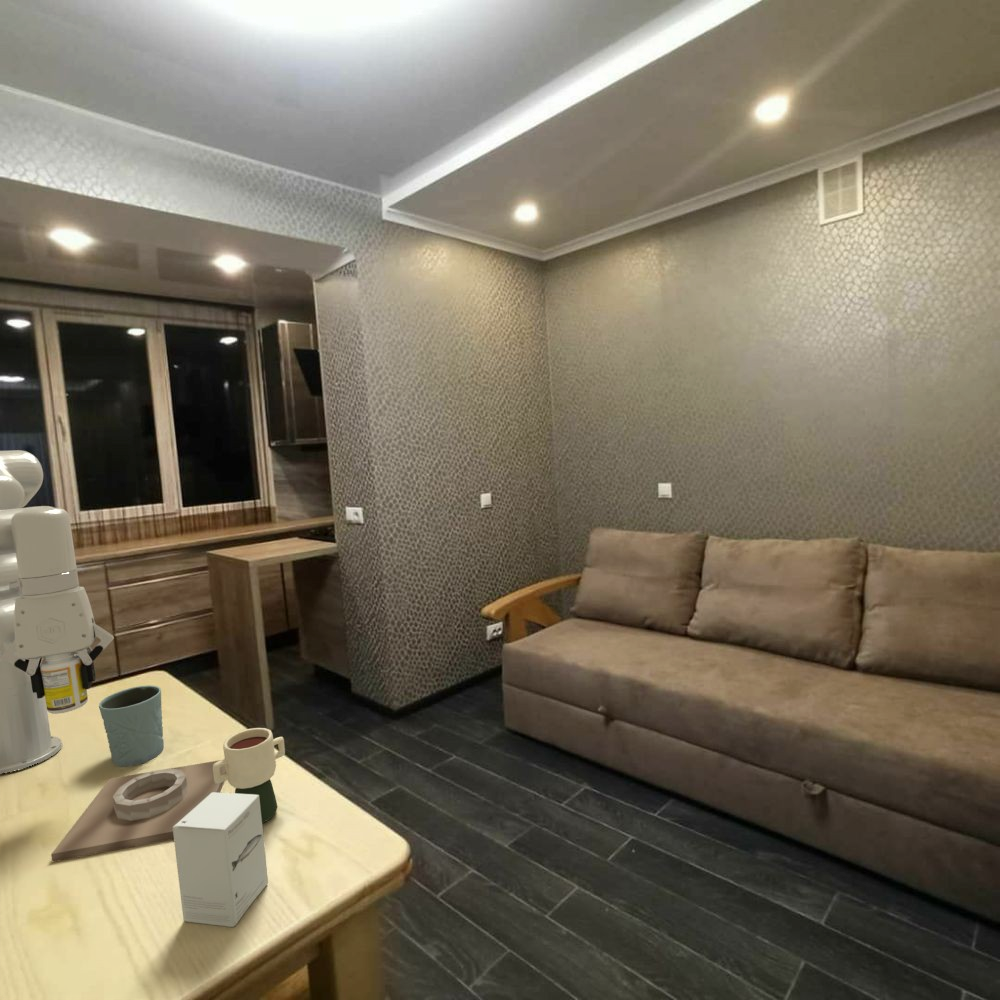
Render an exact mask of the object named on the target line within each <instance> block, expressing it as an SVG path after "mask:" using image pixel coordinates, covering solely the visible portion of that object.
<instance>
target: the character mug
mask: <svg viewBox="0 0 1000 1000" xmlns="http://www.w3.org/2000/svg"><path fill="white" fill-rule="evenodd" d="M276 745H277V746H278V751H277V752H276V751H275V746H276ZM285 748H286V747H285V739H284V737H283V736H279V737H275V738H274V735H273V732H272V730H271V729H268V728H266V727H254V728H247V729H244V730H241V731H240V730H239V731H238V732H236V733H233V734H232V735H230V736H229V737H228V738H226V739H225V741H224V742H223V756H224V759H220V760H221V761H219V760H217V761H218V762H216V763H215V764H214V765H213V775H214V782H215V783H216V784H218V783H222V782H224V781H225V782H226V781H227V782H228V784H229V785H230V786H231V787H233V788H234V793H237V794H254V795H259V799H260V808H261V818H262V824H263V823H264V822H265V823H266V822H267V821H269V820H270V819H271V818H272V817H273V816H274V815H275V814H276V812H277V810H278V806H279V805H278V804H277V803H278V802H277V799H276V794H275V790H274V787H273V783H272V780H271V778H273V776H274V775H275V772H276V769H277V768H276V767H277V764H276V763H277V761H276V760H277V759H279V758H283V756H285V754H286V749H285ZM223 766H225V767H226V774H224V775H222V776H221V774H220V768H221V767H223ZM225 782H224V783H225Z"/></svg>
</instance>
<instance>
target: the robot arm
mask: <svg viewBox="0 0 1000 1000" xmlns="http://www.w3.org/2000/svg"><path fill="white" fill-rule="evenodd" d="M42 467H43V466H42V463H41V462H40V461H39V459H38V458H37V457H36V456H35V455H34V454H32V453H30V452H28V451H26V450H21V449H20V450H19V449H17V450H15V449H14V450H0V775H3V774H2V773H5V774H7V773H6V772H10V773H12V772H11V771H14V770H18V769H22V768H25V769H27V768H26V767H28V768H30V767H29V766H31V767H33V766H35V765H34V764H36V765H38V764H40V763H42V762H44V760H45V761H47V760H48V759H50V758H51V756H52V757H53V756H55V755H56V754H57V753H58V752H59V751H60V750H61V748H62V747H63V744H62V743H63V742H62V739H61V738H59V737H57V736H54V735H53V736H51V727H50V721H49V720H50V719H49V712H48V711H47V706H46V700H45V694H44V687H43V681H42V675H41V668H40V667H41V665H42V664H43V663H42V662H43V660H44V658H45V657H48V656H54V655H60V654H66V653H71V652H75V653H77V655H79V657H80V658H81V660H82V664H83V665H82V666H81V676H82V683H83V689H87V690H89V689H90V688H91V687H92V685H93V682H95V681H96V670H95V669H96V668H95V664H94V662H95V660H96V659H97V658H98V657H99V656H100V655H101V653H102V652H103V651H104V650H105V649H106V648H107V647H108V645H110V644H111V643H112V641H113V640H114V639H115V637H114V635H113V634H111V633H110V632H108V631H107V630H105V629H104V628H103V627H101V626H99V624H96V622H95V617H94V613H93V609H92V606H91V603H90V599H89V596H88V594H87V591H86V589H85V586H80V582H79V575H78V569H77V561H76V555H75V547H74V540H73V533H72V524H71V519H70V515H69V513H68V512H67V510H65V509H63V508H59V507H54V506H49V505H41V506H40V505H39V506H28V507H25V506H27V505H28V503H29V502H30V501H31V500H32V498H33V497H34V496H35V495H36V494H37V492H38V491H39V490H40V488H41V487H42V485H43V480H44V471H43V468H42ZM97 638H98V639H99V640H100V642H98V644H96V645H95V647H94V648H93V649H92V647H91V646H92V644H93V643H94V641H96V640H97ZM37 763H38V764H37ZM32 765H33V766H32ZM22 770H23V769H22ZM18 771H19V770H18Z"/></svg>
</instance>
